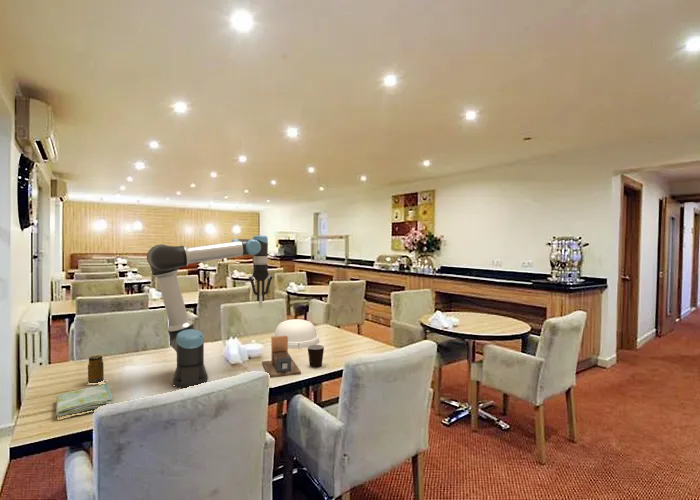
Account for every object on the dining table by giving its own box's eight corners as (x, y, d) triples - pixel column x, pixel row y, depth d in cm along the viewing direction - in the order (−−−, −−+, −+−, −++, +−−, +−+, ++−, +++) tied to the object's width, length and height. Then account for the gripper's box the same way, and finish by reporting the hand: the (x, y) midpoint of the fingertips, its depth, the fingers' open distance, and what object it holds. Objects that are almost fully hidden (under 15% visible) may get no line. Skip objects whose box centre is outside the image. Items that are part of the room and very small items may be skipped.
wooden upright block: (276, 373, 192) (276, 344, 192) (271, 363, 207) (271, 336, 207) (292, 371, 195) (293, 343, 195) (286, 361, 210) (286, 335, 210)
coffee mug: (321, 369, 204) (321, 349, 203) (305, 367, 206) (305, 348, 205) (327, 362, 215) (327, 343, 215) (311, 360, 217) (312, 342, 217)
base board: (268, 377, 191) (268, 375, 191) (262, 363, 211) (262, 361, 211) (301, 374, 196) (301, 371, 196) (291, 360, 217) (291, 358, 217)
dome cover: (270, 337, 267) (270, 316, 266) (314, 334, 275) (314, 314, 274) (274, 350, 236) (274, 327, 235) (323, 347, 244) (323, 324, 243)
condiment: (92, 380, 186) (92, 354, 185) (111, 379, 187) (111, 354, 186) (83, 386, 178) (83, 359, 178) (103, 385, 179) (103, 359, 179)
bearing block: (277, 372, 194) (277, 358, 194) (273, 366, 203) (273, 353, 203) (291, 371, 197) (291, 357, 196) (287, 365, 206) (287, 351, 206)
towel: (55, 423, 144) (55, 409, 144) (56, 402, 162) (56, 390, 162) (113, 410, 155) (113, 397, 155) (108, 392, 172) (108, 381, 172)
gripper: (271, 263, 221) (271, 305, 222) (247, 263, 216) (247, 306, 217) (273, 264, 214) (273, 307, 215) (249, 264, 209) (249, 308, 210)
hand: (260, 307), depth 216 cm, fingers closed
